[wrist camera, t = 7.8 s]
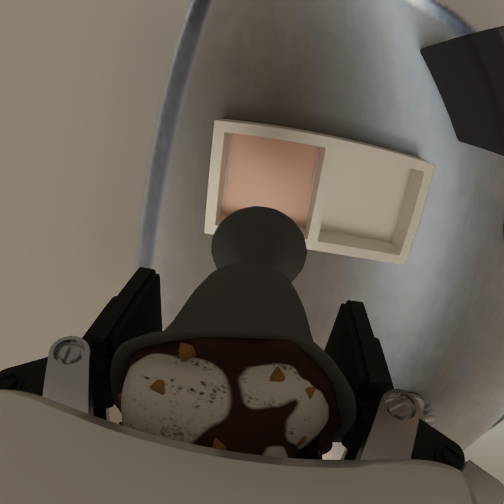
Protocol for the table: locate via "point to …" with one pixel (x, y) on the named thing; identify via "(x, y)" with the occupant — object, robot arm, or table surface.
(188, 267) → the table surface
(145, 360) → the sundae
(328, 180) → the carrier tray
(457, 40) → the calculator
